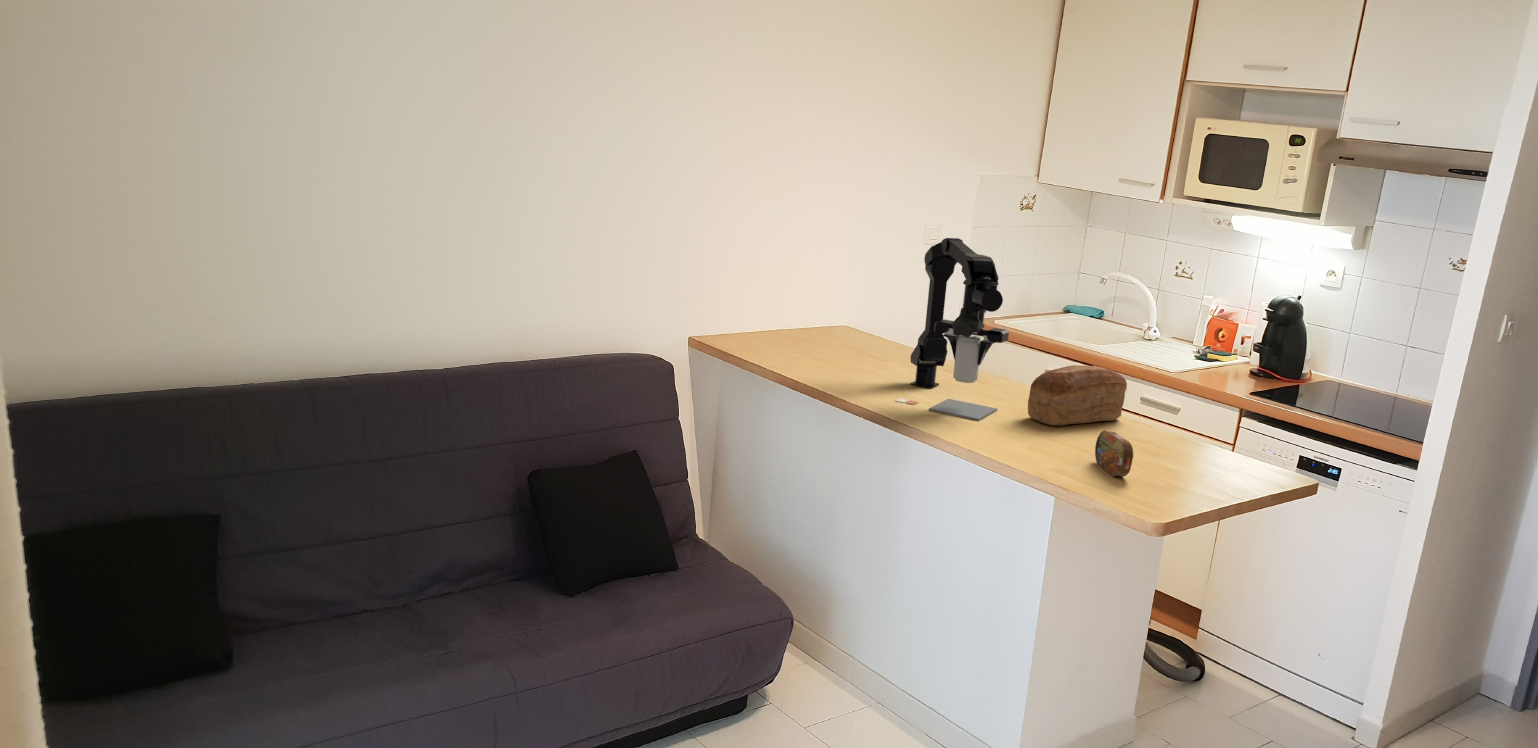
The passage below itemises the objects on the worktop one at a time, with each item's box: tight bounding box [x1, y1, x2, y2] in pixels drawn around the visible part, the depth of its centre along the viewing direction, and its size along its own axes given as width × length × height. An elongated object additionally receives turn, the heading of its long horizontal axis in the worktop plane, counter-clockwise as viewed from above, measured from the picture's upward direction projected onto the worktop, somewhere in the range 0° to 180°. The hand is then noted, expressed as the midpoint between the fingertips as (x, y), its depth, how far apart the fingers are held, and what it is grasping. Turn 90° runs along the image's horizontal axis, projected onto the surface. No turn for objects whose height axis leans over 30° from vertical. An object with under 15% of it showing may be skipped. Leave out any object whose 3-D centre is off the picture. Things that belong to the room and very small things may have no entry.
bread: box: [1027, 364, 1128, 427], centre depth 282 cm, size 12×28×14 cm, turn 119°
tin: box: [1094, 429, 1134, 478], centre depth 240 cm, size 15×3×8 cm, turn 5°
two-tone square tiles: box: [894, 397, 920, 406], centre depth 289 cm, size 3×6×1 cm, turn 59°
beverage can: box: [952, 335, 982, 384], centre depth 281 cm, size 6×6×12 cm
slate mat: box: [928, 398, 998, 422], centre depth 284 cm, size 14×14×1 cm
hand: (967, 363), depth 281 cm, fingers closed on beverage can, 6 cm apart
